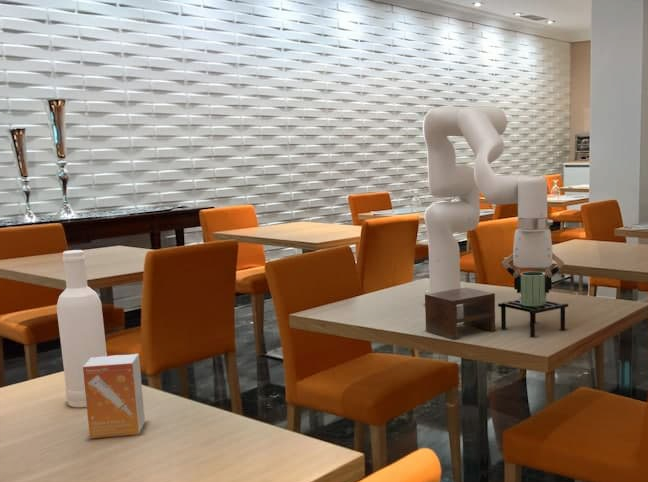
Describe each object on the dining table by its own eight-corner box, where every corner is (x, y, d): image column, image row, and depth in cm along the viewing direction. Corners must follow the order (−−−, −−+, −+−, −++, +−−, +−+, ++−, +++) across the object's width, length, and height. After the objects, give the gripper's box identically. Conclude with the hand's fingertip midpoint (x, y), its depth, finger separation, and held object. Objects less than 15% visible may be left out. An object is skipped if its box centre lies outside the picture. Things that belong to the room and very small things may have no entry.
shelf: (425, 331, 199) (424, 294, 198) (466, 322, 208) (466, 287, 206) (453, 339, 190) (452, 300, 188) (495, 330, 199) (494, 293, 197)
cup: (514, 303, 198) (514, 273, 197) (533, 299, 202) (533, 270, 201) (532, 307, 193) (532, 276, 191) (551, 303, 197) (551, 273, 195)
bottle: (67, 410, 143) (49, 255, 138) (67, 399, 150) (49, 250, 145) (113, 403, 147) (97, 251, 142) (110, 392, 154) (95, 247, 149)
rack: (498, 329, 200) (497, 303, 199) (533, 321, 208) (533, 296, 206) (532, 338, 190) (532, 311, 188) (568, 329, 198) (568, 303, 196)
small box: (89, 439, 128) (81, 366, 126) (98, 426, 134) (90, 356, 132) (140, 434, 130) (132, 362, 128) (146, 422, 136) (139, 352, 134)
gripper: (566, 222, 196) (566, 289, 199) (499, 223, 199) (500, 289, 202) (567, 225, 189) (566, 295, 192) (498, 226, 191) (498, 295, 194)
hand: (532, 291), depth 197 cm, fingers closed on cup, 7 cm apart
